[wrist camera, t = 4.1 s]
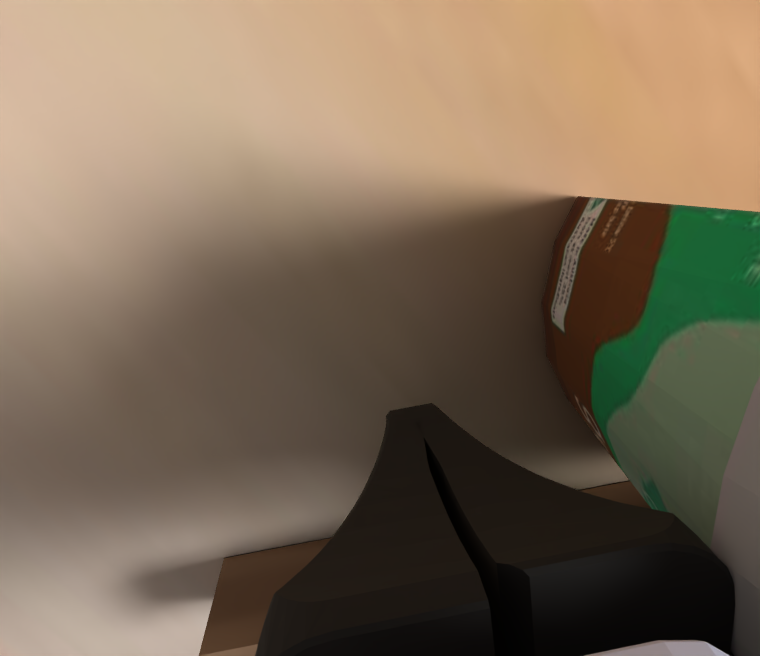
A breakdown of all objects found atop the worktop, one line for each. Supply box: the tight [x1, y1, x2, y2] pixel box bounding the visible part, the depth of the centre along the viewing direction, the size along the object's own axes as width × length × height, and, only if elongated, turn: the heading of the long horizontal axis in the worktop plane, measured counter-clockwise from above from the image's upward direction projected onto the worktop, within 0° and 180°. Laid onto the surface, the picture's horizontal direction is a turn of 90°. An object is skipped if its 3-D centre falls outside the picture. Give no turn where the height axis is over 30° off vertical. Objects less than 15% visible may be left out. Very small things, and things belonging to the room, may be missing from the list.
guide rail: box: [199, 481, 651, 656], centre depth 13 cm, size 10×26×3 cm, turn 99°
